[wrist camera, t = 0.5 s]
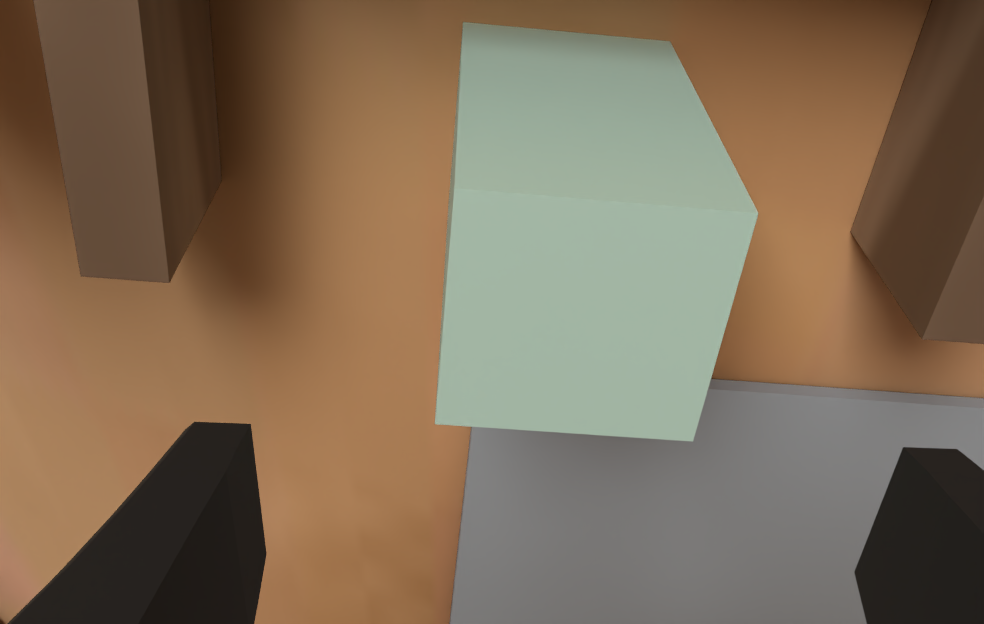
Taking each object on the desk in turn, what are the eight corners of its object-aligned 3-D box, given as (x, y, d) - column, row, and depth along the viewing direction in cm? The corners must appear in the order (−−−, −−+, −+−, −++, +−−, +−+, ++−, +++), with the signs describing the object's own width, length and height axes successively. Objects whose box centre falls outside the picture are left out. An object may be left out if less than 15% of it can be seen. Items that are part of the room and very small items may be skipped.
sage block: (669, 41, 18) (758, 212, 12) (633, 223, 20) (692, 441, 15) (463, 22, 18) (453, 187, 12) (447, 208, 20) (434, 424, 14)
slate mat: (1043, 402, 23) (1052, 413, 23) (864, 731, 31) (868, 742, 31) (478, 362, 22) (478, 372, 22) (439, 711, 30) (439, 722, 30)
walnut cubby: (1113, -253, 15) (1285, -234, 12) (917, 237, 21) (1000, 345, 17) (84, -374, 14) (-34, -387, 11) (148, 174, 20) (80, 276, 16)
